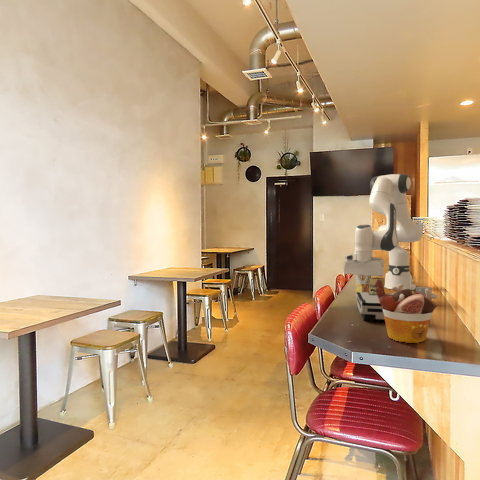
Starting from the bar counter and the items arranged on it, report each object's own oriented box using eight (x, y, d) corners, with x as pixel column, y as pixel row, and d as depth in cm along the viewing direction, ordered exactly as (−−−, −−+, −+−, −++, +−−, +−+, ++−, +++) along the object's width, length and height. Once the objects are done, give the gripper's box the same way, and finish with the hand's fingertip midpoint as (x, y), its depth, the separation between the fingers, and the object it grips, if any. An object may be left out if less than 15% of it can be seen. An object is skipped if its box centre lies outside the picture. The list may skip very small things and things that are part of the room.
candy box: (364, 294, 217) (364, 267, 217) (371, 295, 214) (371, 267, 213) (355, 296, 212) (355, 268, 211) (362, 297, 208) (362, 269, 208)
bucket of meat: (436, 335, 137) (437, 279, 136) (438, 349, 122) (439, 285, 121) (375, 329, 145) (376, 276, 144) (371, 342, 130) (371, 282, 129)
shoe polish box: (376, 300, 200) (376, 277, 200) (384, 302, 196) (384, 278, 195) (369, 301, 198) (369, 278, 197) (377, 303, 193) (377, 279, 193)
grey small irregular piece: (417, 302, 196) (417, 286, 196) (432, 304, 192) (433, 287, 191) (414, 304, 190) (414, 288, 190) (429, 306, 186) (430, 289, 186)
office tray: (402, 308, 183) (402, 291, 183) (418, 325, 152) (418, 304, 152) (356, 306, 188) (356, 289, 187) (361, 323, 156) (362, 302, 156)
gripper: (386, 257, 196) (385, 284, 197) (346, 255, 209) (346, 281, 209) (382, 258, 191) (381, 286, 192) (342, 256, 204) (341, 282, 204)
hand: (363, 283), depth 200 cm, fingers closed
